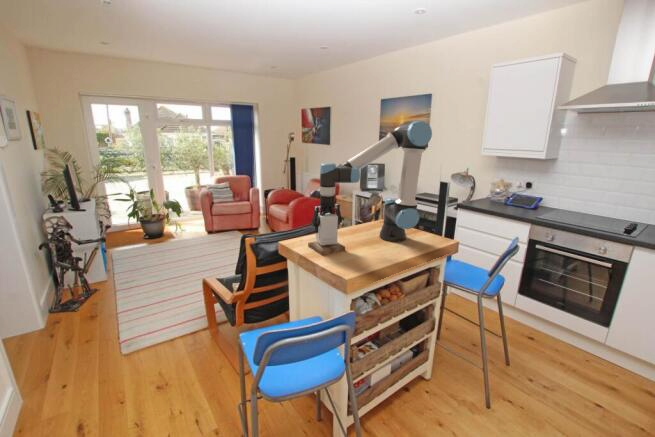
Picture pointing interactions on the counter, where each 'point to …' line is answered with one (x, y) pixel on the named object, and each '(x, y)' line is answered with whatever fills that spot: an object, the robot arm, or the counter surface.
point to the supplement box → (328, 229)
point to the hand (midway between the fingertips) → (326, 237)
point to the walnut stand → (326, 248)
